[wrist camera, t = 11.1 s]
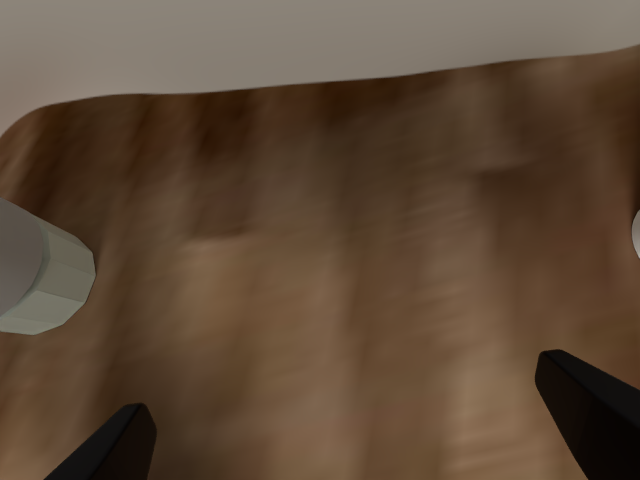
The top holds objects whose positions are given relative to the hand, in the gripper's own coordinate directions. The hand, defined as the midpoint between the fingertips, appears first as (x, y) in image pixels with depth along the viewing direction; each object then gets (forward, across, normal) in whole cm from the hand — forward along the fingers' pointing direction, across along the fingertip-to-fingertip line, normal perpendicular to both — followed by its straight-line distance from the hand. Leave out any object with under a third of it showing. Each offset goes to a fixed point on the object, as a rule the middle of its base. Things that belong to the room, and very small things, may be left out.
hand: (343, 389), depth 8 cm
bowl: (+15, +19, +4) cm, 25 cm away
